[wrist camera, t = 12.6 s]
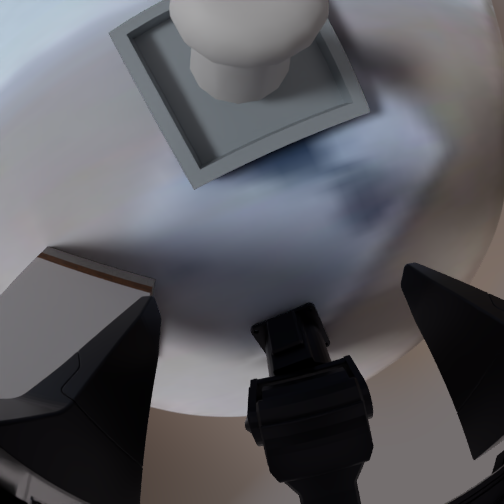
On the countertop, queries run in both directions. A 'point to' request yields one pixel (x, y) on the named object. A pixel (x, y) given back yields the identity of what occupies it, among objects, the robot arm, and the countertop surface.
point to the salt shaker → (245, 42)
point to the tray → (231, 114)
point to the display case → (58, 314)
